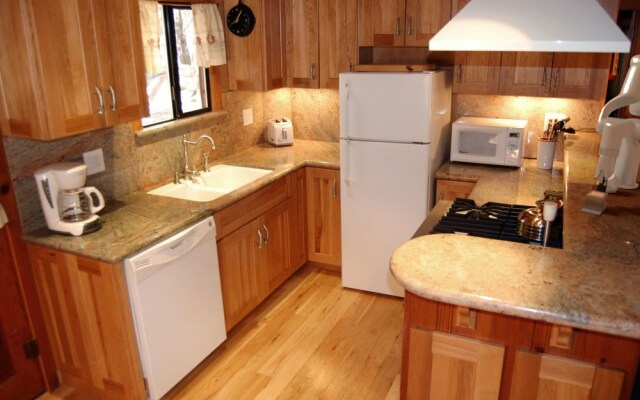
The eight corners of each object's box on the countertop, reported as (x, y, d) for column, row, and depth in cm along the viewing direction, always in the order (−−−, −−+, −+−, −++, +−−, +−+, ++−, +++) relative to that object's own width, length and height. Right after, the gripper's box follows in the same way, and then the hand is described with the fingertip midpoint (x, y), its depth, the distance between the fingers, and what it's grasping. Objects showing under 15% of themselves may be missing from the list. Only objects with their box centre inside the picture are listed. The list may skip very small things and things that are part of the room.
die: (617, 197, 228) (628, 178, 228) (600, 187, 228) (611, 168, 228) (606, 198, 236) (617, 179, 236) (590, 187, 236) (601, 169, 236)
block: (592, 190, 216) (586, 194, 210) (607, 193, 212) (602, 198, 207) (589, 203, 218) (584, 208, 212) (605, 206, 214) (599, 211, 209)
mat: (587, 204, 218) (587, 203, 217) (605, 208, 213) (605, 207, 213) (580, 211, 211) (580, 210, 210) (599, 215, 206) (599, 214, 206)
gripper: (604, 146, 217) (595, 187, 223) (594, 153, 206) (586, 196, 213) (623, 149, 212) (614, 191, 219) (614, 157, 202) (605, 200, 208)
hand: (600, 193), depth 216 cm, fingers closed
